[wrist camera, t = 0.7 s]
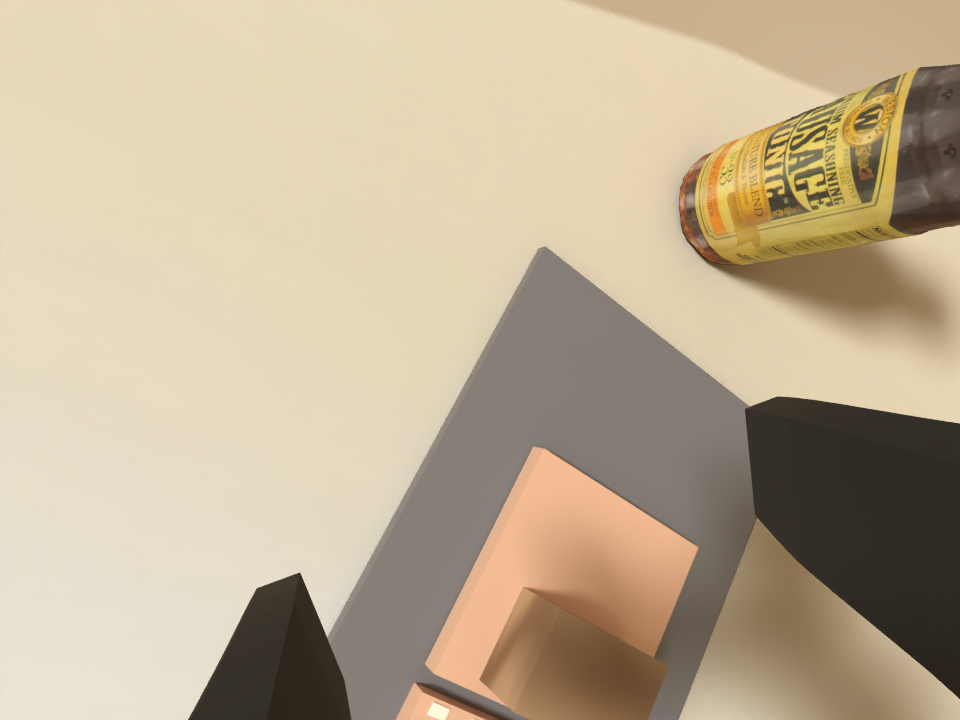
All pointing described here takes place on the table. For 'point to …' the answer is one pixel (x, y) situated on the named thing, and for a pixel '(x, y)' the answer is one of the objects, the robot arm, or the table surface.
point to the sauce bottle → (833, 175)
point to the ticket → (436, 707)
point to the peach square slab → (566, 601)
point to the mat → (582, 444)
